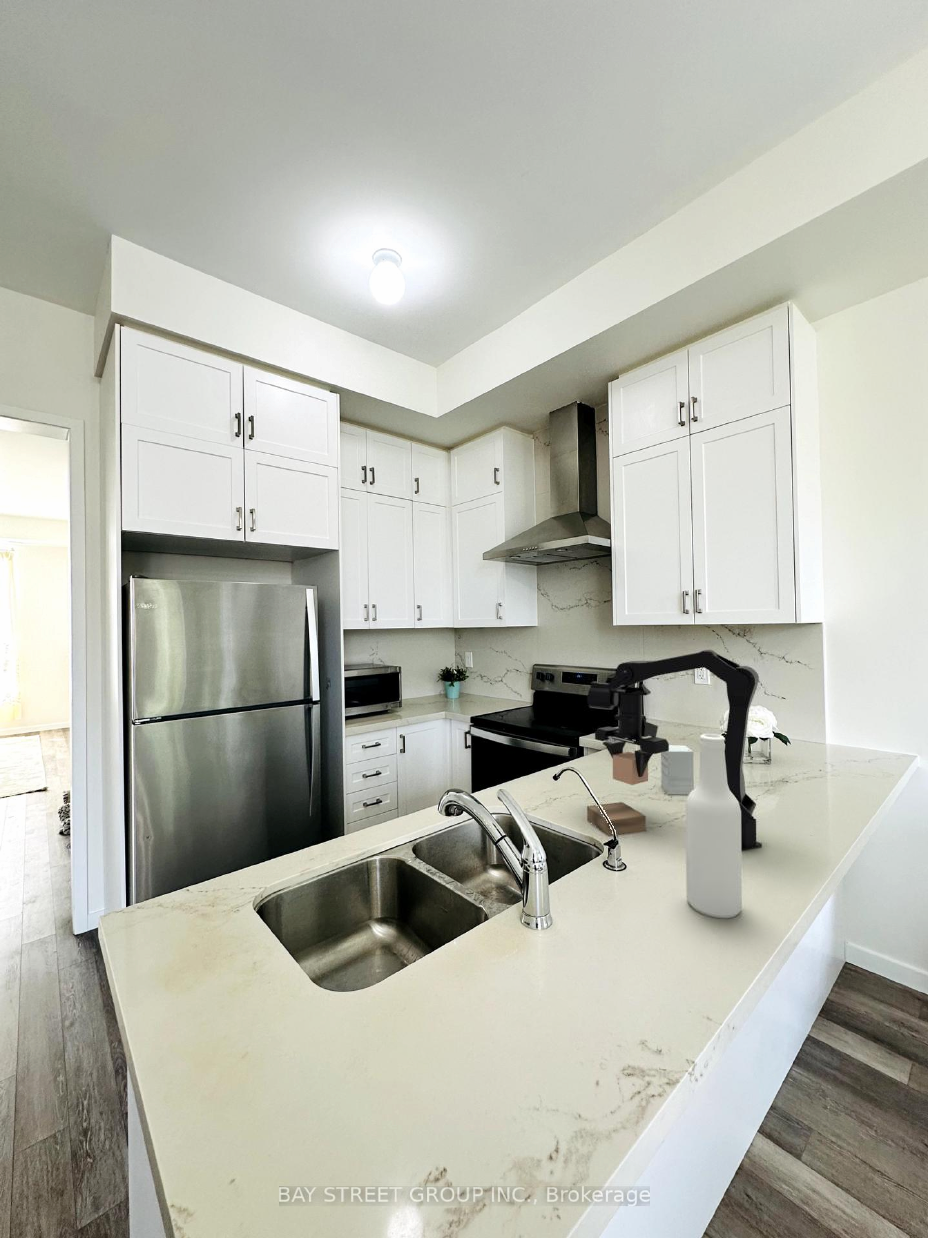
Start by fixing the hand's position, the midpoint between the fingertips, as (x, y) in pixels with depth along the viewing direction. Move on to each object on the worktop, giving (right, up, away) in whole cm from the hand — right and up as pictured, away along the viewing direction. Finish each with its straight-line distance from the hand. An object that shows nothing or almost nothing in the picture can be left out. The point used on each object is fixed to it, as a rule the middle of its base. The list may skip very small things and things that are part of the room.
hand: (630, 773), depth 133 cm
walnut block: (-5, -12, -3) cm, 13 cm away
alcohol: (+2, -12, -40) cm, 41 cm away
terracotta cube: (0, -2, 0) cm, 2 cm away
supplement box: (+21, -12, +22) cm, 32 cm away
